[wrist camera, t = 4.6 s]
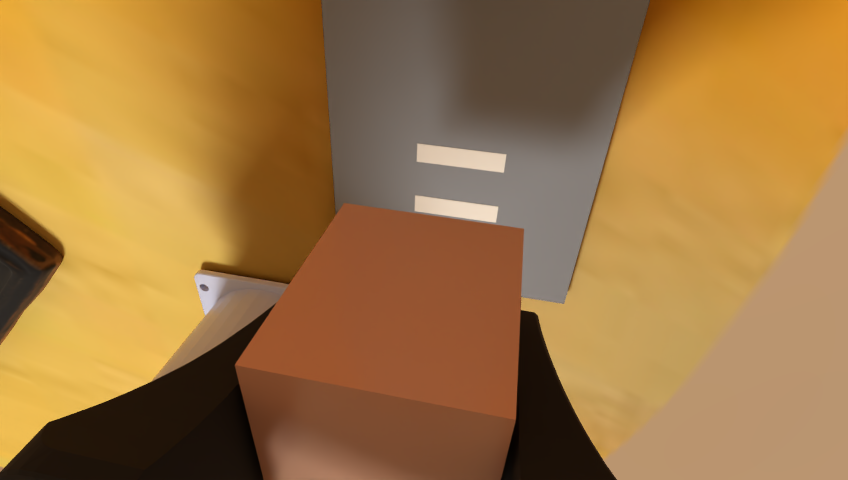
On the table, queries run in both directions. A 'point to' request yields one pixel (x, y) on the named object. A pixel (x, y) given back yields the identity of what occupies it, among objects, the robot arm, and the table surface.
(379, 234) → the terracotta block
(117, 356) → the table surface
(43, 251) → the framed painting
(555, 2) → the grey board
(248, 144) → the table surface
